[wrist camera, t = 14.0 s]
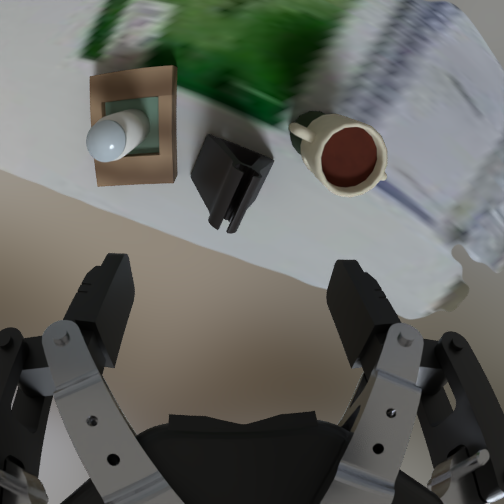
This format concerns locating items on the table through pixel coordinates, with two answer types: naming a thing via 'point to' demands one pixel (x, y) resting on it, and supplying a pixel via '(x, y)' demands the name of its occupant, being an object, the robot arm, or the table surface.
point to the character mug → (340, 152)
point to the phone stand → (228, 179)
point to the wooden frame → (160, 116)
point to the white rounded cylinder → (117, 134)
